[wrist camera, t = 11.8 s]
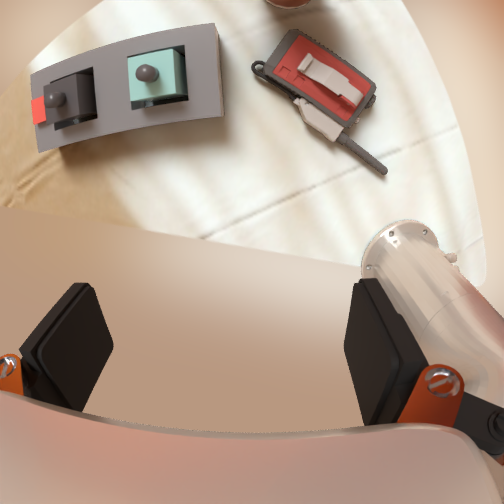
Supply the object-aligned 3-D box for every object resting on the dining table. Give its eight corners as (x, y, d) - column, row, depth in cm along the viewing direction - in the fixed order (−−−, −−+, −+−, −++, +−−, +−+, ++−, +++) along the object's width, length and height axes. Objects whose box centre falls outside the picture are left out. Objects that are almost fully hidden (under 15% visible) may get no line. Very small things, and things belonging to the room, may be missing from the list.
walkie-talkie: (239, 84, 30) (377, 177, 35) (238, 80, 26) (392, 186, 31) (281, 25, 27) (413, 124, 32) (286, 14, 23) (431, 128, 28)
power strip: (218, 33, 27) (208, 9, 19) (224, 115, 31) (216, 117, 23) (50, 75, 27) (6, 74, 19) (58, 146, 32) (16, 161, 24)
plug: (186, 59, 28) (167, 44, 20) (189, 95, 30) (170, 92, 22) (149, 66, 28) (119, 55, 20) (152, 101, 30) (122, 101, 22)
